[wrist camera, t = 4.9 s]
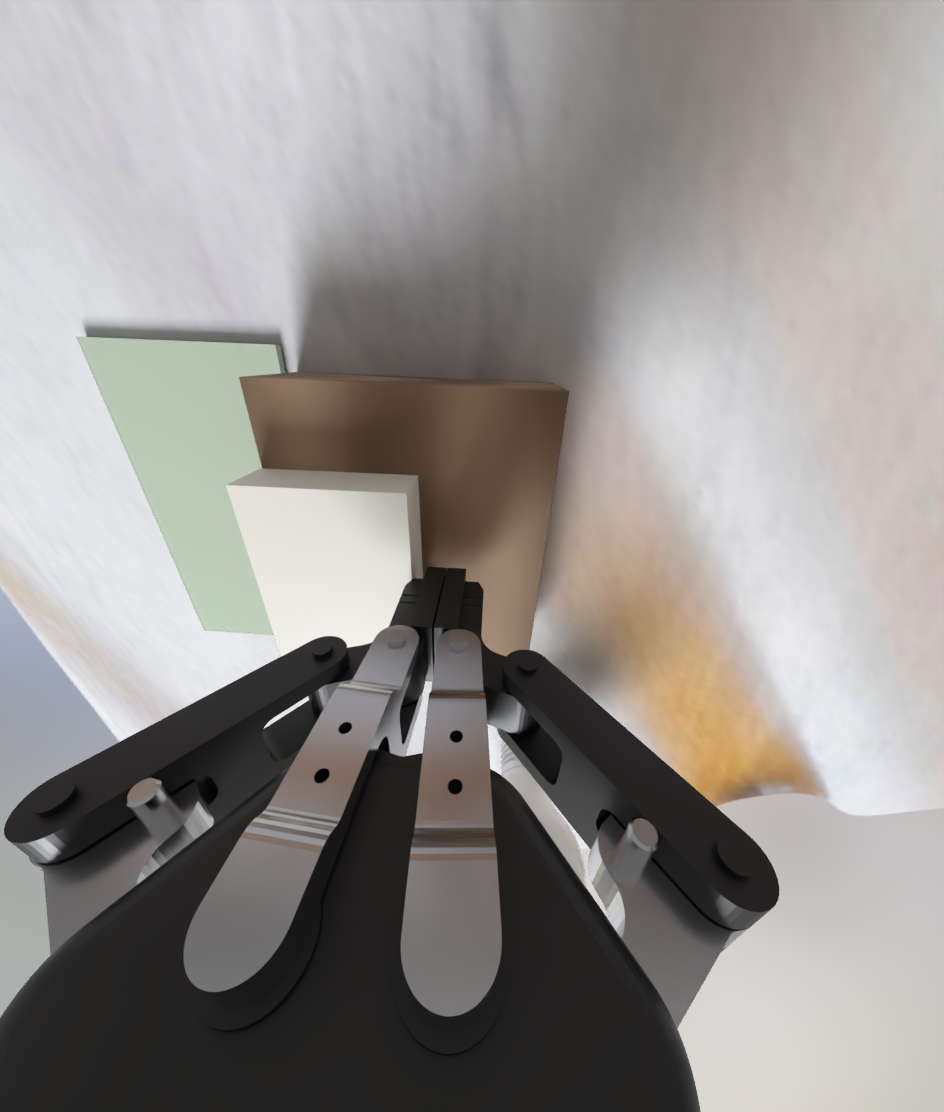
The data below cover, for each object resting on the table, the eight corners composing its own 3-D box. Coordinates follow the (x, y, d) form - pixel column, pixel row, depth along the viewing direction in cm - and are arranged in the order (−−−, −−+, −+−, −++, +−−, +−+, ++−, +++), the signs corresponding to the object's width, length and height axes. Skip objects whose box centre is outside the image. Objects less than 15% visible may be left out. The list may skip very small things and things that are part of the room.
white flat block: (418, 475, 13) (406, 493, 12) (425, 638, 17) (417, 670, 15) (260, 468, 13) (225, 484, 12) (303, 630, 17) (282, 661, 16)
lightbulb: (466, 750, 28) (450, 955, 18) (493, 700, 25) (492, 913, 15) (540, 769, 29) (563, 977, 19) (576, 722, 26) (625, 941, 16)
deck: (552, 383, 15) (568, 391, 12) (518, 635, 22) (523, 688, 18) (296, 372, 15) (238, 376, 12) (342, 623, 22) (314, 672, 19)
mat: (280, 344, 15) (274, 344, 15) (337, 635, 23) (334, 639, 22) (85, 337, 15) (75, 336, 15) (208, 626, 23) (203, 630, 23)
